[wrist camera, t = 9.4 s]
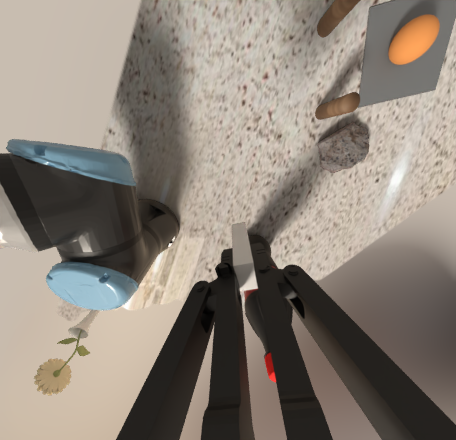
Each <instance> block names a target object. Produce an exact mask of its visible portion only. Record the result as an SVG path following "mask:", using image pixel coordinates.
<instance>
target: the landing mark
mask: <svg viewBox="0 0 456 440" xmlns="http://www.w3.org/2000/svg"><path fill="white" fill-rule="evenodd" d="M427 14H430V15H434V16H436V17H437V18H438V20H439V23H440V28H439V32H438V35H437V37H436V39H435V41H434V43H433V44H432V45H431V47H430V48H429V49H428V50H427V51H426V52H425V53H424V54H423V55H422V56H420V57H419V58H417V59H416V60H414V61H412V62H410V63H407V64H403V65H397V64H394V63H392V62H391V61H390V59H389V56H388V52H389V47H390V44H391V42H392V40H393V38H394V37H395V35H396V34H397V33H398V32H399V30H400V29H401V28H402V27H403V26H405V25H406V24H407V23H408V22H410V21H411V20H413V19H415V18H417V17H419V16H422V15H427ZM455 18H456V0H394V1H391V2H387V3H384V4H380V5H377V6H373V7H370V8H369V16H368V24H367V32H366V41H365V49H364V58H363V66H362V75H361V83H360V91H359V95H360V104H359V106H358V108H359V107H363V106H367V105H372V104H376V103H380V102H385V101H389V100H393V99H398V98H402V97H406V96H411V95H415V94H419V93H424V92H428V91H432V90H435V89H436V85H437V82H438V78H439V75H440V71H441V68H442V64H443V61H444V57H445V53H446V50H447V46H448V43H449V39H450V36H451V32H452V29H453V25H454V21H455Z"/></svg>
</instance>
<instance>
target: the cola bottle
mask: <svg viewBox="0 0 456 440" xmlns="http://www.w3.org/2000/svg"><path fill="white" fill-rule="evenodd" d="M248 238H249V243H250V244H255V243H261V244H262V245H263V246H264V249H265V252H266V255H267V258H268V261H269V263H270V265H271V266H272V267H273V268H276V269H278V267H277V266H276V264H275V263H274V261H273V259H272V258H271V248H270V245H269V243H268V242H267V241H266V240H265V239H264V238H263V237H261V236H258V235H251V236H249V237H248ZM244 296H245V312H246V313H245V314H246V317H247V319H248V321H249V323H250V325H251V326H252V328H253V330H254V331H255V333H256V334H257V336H258V337H259V338H260V339H261V341H262V343H263V346H264V348H265V351H266V353H265V355H264V358H265V363H266V368H267V372H268V375H269V378H270V379H271V380H272V381H274V382H276V378H275V373H274V368H273V363H272V358H271V353H270V348H269V343H268V337H267V332H266V327H265V322H264V317H263V312H262V307H261V302H260V297H259V292H258V289H252V290H246V291H244ZM282 299H283V302H284V305H285V308H286V311H287V314H288V317H289V320H290V323H292V313H293V312H292V311H293V307H292V306H291V305H290V303H289V302H288V300H287V298H282Z"/></svg>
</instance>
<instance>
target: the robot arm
mask: <svg viewBox="0 0 456 440" xmlns="http://www.w3.org/2000/svg"><path fill="white" fill-rule="evenodd" d="M6 149H7V150H8V151H9V152H11V153H9V154H0V249H1V248H5V247H9V248H17V249H22V250H26V251H30V252H39V251H42V250H45V249H49V248H52V247H57V250H58V252H59V254H60V256H61V258H62V262H61V263H58V264H56V265H55V266H53V267H52V270H50V272H49V273H48V275H47V277H46V282H47V284H48V286H49V288H50V289H51V290H52V291H53V292H54V293H55V294H56V295H57V296H59V297H60V298H62V299H63V300H65V301H67V302H69V303H71V304H74V305H76V306H79V307H83V308H87V309H92V310H112V309H116V308H118V307H120V306H122V305H123V304H125V303H126V302H127V301H128V300H129V299H130V298H131V296H132V295H133V294H134V293H135V291H137V289H138V288H139V284H140V283H141V281H142V280H143V278H144V276H145V275H146V273H147V272H148V270H149V268H150V267H151V265H152V264H153V262H154V261H155V259H156V257H157V256H158V254H160V253H161V252H163V251H164V250H166V249H167V248H169V247H170V246H171V245H172V244H173V243H174V241H175V239H176V238H177V235H178V232H179V225H178V221H177V219H176V217H175V215H174V214H173V212H172V211H171V210H170V209H169V208H168V207H166V206H165V205H163V204H162V203H159V202H157V201H154V200H149V199H142V200H138V199H137V193H136V187H135V186H136V182H135V181H134V178H133V175H132V170H131V166H130V163H129V161H128V160H127V159H126V158H125V157H124V156H123V155H121V154H118V153H115V152H111V151H105V150H99V149H93V148H86V147H79V146H72V145H65V144H57V143H49V142H39V141H27V140H18V139H12V140H10V141H9V142H8V146H7V147H6ZM232 247H233V248H231V249H226V250H223V252H222V254H221V263H220V264H218V265H217V266H216V268H215V270H216V273H217V276H218V278H217V279H216V280H214V281H212V282H210V283H208V282H207V281H199V282H197V283H196V284H195V285H194V286H193V288H192V290H191V292H190V294H189V296H188V298H187V300H186V302H185V304H184V306H183V308H182V310H181V312H180V313H179V316H178V317H177V319H176V322H175V324H174V326H173V328H172V329H171V331H170V334H169V335H168V338H167V339H166V341H165V343H164V345H163V348H162V349H161V351H160V353H159V356H158V357H157V359H156V361H155V363H154V365H153V367H152V369H151V371H150V373H149V375H148V378H147V379H146V381H145V383H144V385H143V387H142V389H141V391H140V393H139V395H138V397H137V399H136V401H135V403H134V405H133V407H132V409H131V411H130V413H129V415H128V417H127V419H126V421H125V423H124V425H123V427H122V429H121V431H120V433H119V435H118V437H117V439H116V440H179V439H180V435H181V432H182V428H183V425H184V422H185V419H186V415H187V412H188V409H189V405H190V402H191V399H192V395H193V392H194V389H195V385H196V382H197V379H198V375H199V372H200V369H201V365H202V362H203V359H204V355H205V351H206V348H207V345H208V342H209V339H210V335H211V332H212V329H213V325H214V339H213V353H212V365H211V379H210V392H209V403H208V407H207V409H206V410H205V413H204V416H203V423H202V434H201V440H255V438H254V432H253V426H252V417H251V404H250V393H249V381H248V369H247V358H246V346H245V336H244V335H245V334H244V323H243V311H242V300H241V295H240V291H246V290H252V289H258V292H259V297H260V302H261V307H262V312H263V317H264V322H265V327H266V332H267V337H268V343H269V348H270V353H271V358H272V363H273V368H274V373H275V378H276V383H277V388H278V393H279V398H280V404H281V410H282V415H283V420H284V425H285V430H286V435H287V440H333V439H332V436H331V433H330V430H329V427H328V424H327V422H326V419H325V416H324V413H323V411H322V408H321V405H320V403H319V401H318V399H317V397H316V396H315V393H314V390H313V387H312V385H311V382H310V379H309V376H308V373H307V370H306V367H305V364H304V361H303V358H302V355H301V352H300V349H299V346H298V343H297V341H296V337H295V335H294V332H293V329H292V326H291V323H290V320H289V317H288V314H287V311H286V308H285V305H284V302H283V299H282V298H287V300H288V302H289V303H290V305H291V306H292V307H293V309H294V310H295V312H296V313H297V315H298V316H299V318H300V319H301V321H302V322H303V324H304V325H305V327H306V328H307V330H308V331H309V333H310V334H311V336H312V337H313V338H314V340H315V341H316V343H317V344H318V346H319V347H320V349H321V350H322V352H323V353H324V355H325V356H326V358H327V359H328V361H329V362H330V364H331V365H332V367H333V368H334V369H335V371H336V372H337V374H338V375H339V377H340V378H341V380H342V381H343V383H344V384H345V386H346V387H347V389H348V390H349V392H350V393H351V395H352V396H353V397H354V399H355V400H356V402H357V403H358V405H359V406H360V408H361V409H362V411H363V412H364V414H365V415H366V417H367V418H368V420H369V421H370V423H371V424H372V426H373V427H374V428H375V430H376V432H377V433H378V434H379V436H380V437H381V439H382V440H456V425H455V424H454V423H453V422H452V421H451V420H450V419H449V418H448V417H447V416H446V415H445V414H444V412H443V411H442V410H440V408H439V407H438V406H436V405H435V403H434V402H433V401H432V400H431V399H430V398H429V397H428V396H427V395H426V394H425V393H424V392H423V391H422V390H421V389H420V388H419V387H418V386H417V385H416V384H415V383H414V382H413V381H412V380H411V379H410V378H409V377H408V376H407V375H406V374H405V373H404V372H403V371H402V370H401V369H400V368H399V367H398V366H397V365H396V364H395V363H394V362H393V361H392V360H391V359H390V358H389V357H388V356H387V355H386V354H385V353H384V352H383V351H382V349H381V348H380V347H378V346H377V344H376V343H375V342H374V341H373V340H372V339H371V338H370V337H369V336H368V335H367V334H366V333H365V332H364V331H363V330H362V329H361V328H360V327H359V326H358V325H357V324H356V323H355V322H354V321H353V320H352V319H351V318H350V317H349V316H348V315H347V314H346V313H345V312H344V311H343V310H342V309H341V308H340V307H339V306H338V305H337V304H336V303H335V302H334V301H333V300H332V299H331V298H330V297H329V296H328V295H327V294H326V293H325V292H324V291H323V290H322V289H321V288H320V287H319V285H317V283H315V281H314V280H313V279H312V278H311V277H310V276H309V275H308V274H307V273H306V272H305V271H304V270H303V269H302V268H301V267H299V266H297V265H288V266H286V267H285V268H284V269H276V268H273V267H272V266H271V265H270V263H269V261H268V258H267V255H266V252H265V249H264V246H263V245H262V244H261V243H255V244H250V243H249V238H248V234H247V229H246V224H245V222H242V223H237V224H233V225H232ZM214 322H215V324H214Z"/></svg>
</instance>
